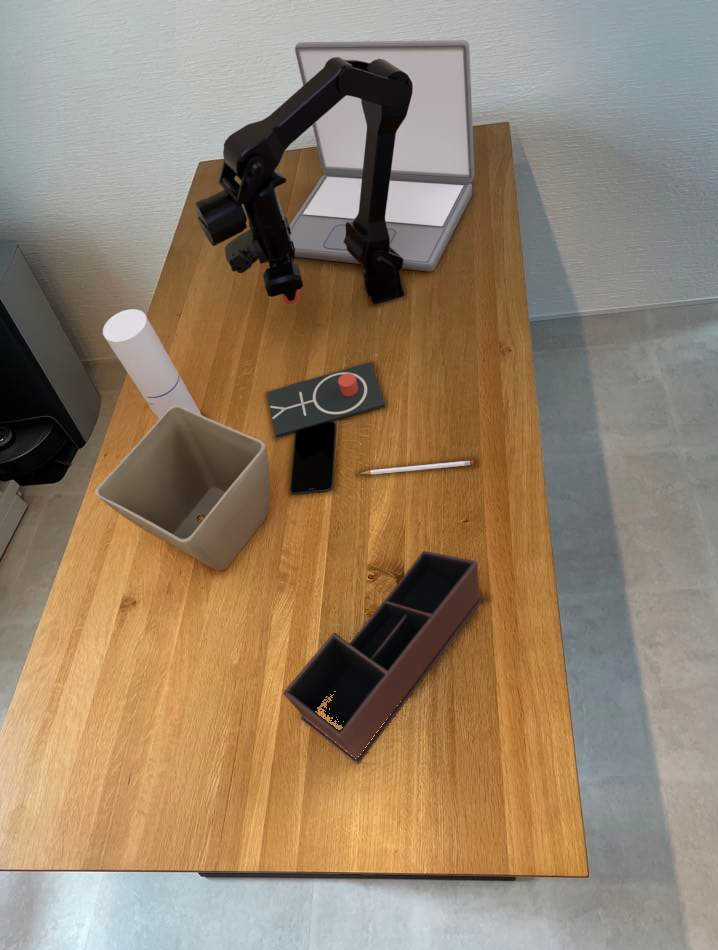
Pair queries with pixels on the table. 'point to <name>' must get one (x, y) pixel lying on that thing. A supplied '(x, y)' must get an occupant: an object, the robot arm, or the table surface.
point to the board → (323, 400)
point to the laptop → (394, 153)
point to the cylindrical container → (147, 362)
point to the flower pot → (193, 486)
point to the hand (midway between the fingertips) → (290, 293)
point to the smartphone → (314, 459)
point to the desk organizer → (386, 653)
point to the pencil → (419, 467)
